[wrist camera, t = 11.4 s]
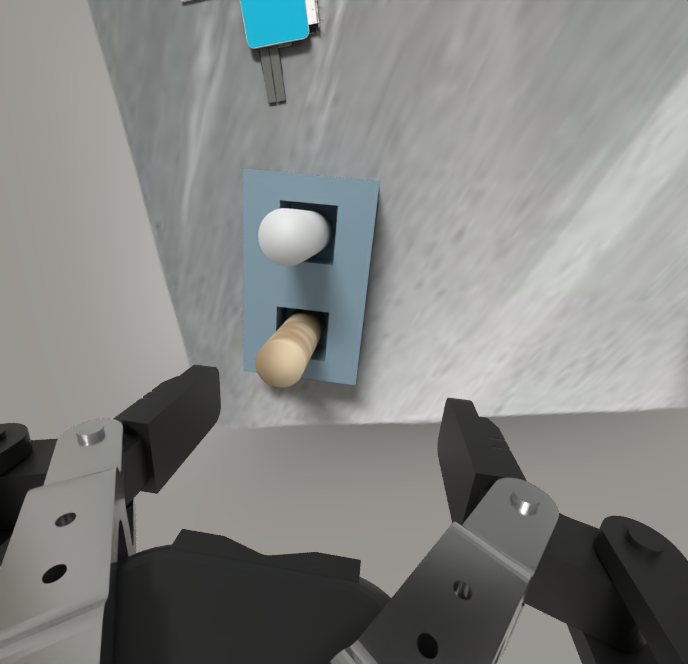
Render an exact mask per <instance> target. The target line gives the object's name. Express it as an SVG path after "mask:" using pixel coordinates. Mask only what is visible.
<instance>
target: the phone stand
mask: <svg viewBox="0 0 688 664" xmlns="http://www.w3.org/2000/svg"><path fill="white" fill-rule="evenodd" d="M186 1H191V0H181V2H186ZM240 3H241V9H242V15H243V21H244V27H245V33H246V38H247V43H248V45H249V46H250V47H251V48H253V49H256V48H259V52H260V58H261V65H262V71H263V74H264V79H265V85H266V91H267V98H268V103H272V102H276V96H275V90H274V83H273V77H272V73H273V76H274V82H275V89H276V95H277V102H278V101H284V100H285V93H284V87H283V80H282V73H281V71H282V67H281V60H280V54H279V48H282V47H287V46H292V44H291V42H292V41H297V40H302V39H305V38H307V37H308V35H309V34H310V33H315V32H316V29H309V25H310V24H315V23H318V27H319V26H320V22H322V21H323V20H322V21H320V22H319V18H318V13H319V12H318V9H320V8H321V7H322V6H321V7H320V8H318V9H317V0H240ZM319 30H320V29H319Z"/></svg>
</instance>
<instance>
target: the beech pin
mask: <svg viewBox="0 0 688 664" xmlns="http://www.w3.org/2000/svg"><path fill="white" fill-rule="evenodd" d="M325 327H326V318H325V315H324V314H323V312H321V311H312V310H304V309H296V310H295V311H294V313H293V314H292V315H291V316H290V317H289V318H288V319H287V320H286V321H285V322H284V324H283V325H282V326H281V327H280V328H279V329H278V330H277V331H276V332H275V333H274V334H273V336H272V337H271V338H270V339H269V340H268V341H267V342H266V343H265V344H264V345H263V347H262V348H261V349H260V350H259V351H258V353H257V355H256V358H255V367H256V370H257V373H258V375H259V376H260V377H261V379H262V380H264V381H265V382H266V383H268V384H269V385H271V386H274V387H280V388H284V387H289V386H292V385H294V384H295V383H296V382H298V380H299V379H300V378H301V376H302V374H303V372H304V370H305V368H306V366H307V364H308V362H309V360H310V358H311V356H312V354H313V352H314V350H315V348H316V346H317V344H318V342H319V340H320V338H321V336H322V334H323V332H324V329H325Z"/></svg>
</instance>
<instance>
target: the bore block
mask: <svg viewBox="0 0 688 664" xmlns="http://www.w3.org/2000/svg"><path fill="white" fill-rule="evenodd" d="M379 182H380V181H374V180H363V179H352V178H342V177H331V176H320V175H309V174H299V173H288V172H277V171H266V170H256V169H245V168H243V341H244V371H248V372H256V373H257V370H256V367H255V358H256V355H257V353H258V351H259V350H260V349H261V348H262V347H263V345H264V344H265V343H266V342H267V341H268V340H269V339H270V338H271V337H272V336H273V334H274V333H275V332H276V331H277V330H278V329H279V328H280V327H281V326H282V325H283V324H284V322H285V321H286V320H287V319H288V318H289V317H290V316H291V315H292V314H293V313H294V311H295V310H296V309H304V310H312V311H321V312H323V314H324V315H325V318H326V327H325V329H324V332H323V334H322V336H321V338H320V340H319V342H318V344H317V346H316V348H315V350H314V352H313V354H312V356H311V358H310V360H309V362H308V364H307V366H306V368H305V370H304V372H303V374H302V376H301V378H303V379H310V380H318V381H326V382H334V383H342V384H349V385H356V378H357V370H358V362H359V353H360V345H361V336H362V328H363V319H364V311H365V302H366V294H367V286H368V277H369V269H370V260H371V252H372V243H373V235H374V226H375V218H376V209H377V201H378V192H379Z"/></svg>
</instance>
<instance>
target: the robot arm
mask: <svg viewBox="0 0 688 664" xmlns="http://www.w3.org/2000/svg"><path fill="white" fill-rule="evenodd" d="M220 409H221V401H220V381H219V371H218V369H217V368H216V367H210V366H202V365H193V366H192V367H190V368H189V369H188V370H187V371H185V372H184V373H183V374H181V375H180V376H177V377H174V378H172V379H170V380H167V381H165V382H162V383H161V384H160V385H158V386H157V387H156V388H154V389H153V390H152V392H149V393H147V394H146V395H145V396H143V399H139V400H138V401H137V402H136V403H134V404H133V405H131V406H130V407H129V408H127V409H126V410H124V411H123V412H122V413H120V414H119V415H118V416H116V417H115V418H114V419H95V420H90V421H86V422H83V423H81V424H78V425H76V426H73V427H71V428H70V429H68V430H67V431H65V432H64V433H63V434H62V435H61V436H60V437H59V438H58V439H47V440H30V436H29V432H28V429H27V427H26V426H25V425H22V424H18V423H6V424H0V664H500V662H501V660H502V657H503V655H504V652H505V650H506V648H507V646H508V643H509V641H510V639H511V636H512V634H513V632H514V629H515V627H516V624H517V622H518V620H519V618H520V615H521V613H522V611H523V609H524V606H525V604H528V605H530V606H532V607H534V608H536V609H538V610H540V611H542V612H544V613H546V614H548V615H550V616H552V617H554V618H556V619H558V620H560V621H562V622H564V623H566V624H567V626H568V628H569V631H570V633H571V636H572V638H573V641H574V644H575V646H576V649H577V652H578V654H579V657H580V659H581V662H582V664H688V561H687V560H686V558H685V557H684V556H683V554H682V553H681V552H680V551H679V550H678V549H677V548H676V547H675V545H673V544H672V543H671V542H670V541H669V540H668V539H667V538H665V537H664V536H663V535H661V534H660V533H658V532H657V531H655V530H654V529H652V528H650V527H649V526H646V525H645V524H643V523H640V522H638V521H636V520H633V519H630V518H627V517H622V516H610V517H607V518H605V519H604V520H603V522H602V524H601V526H600V529H598V528H595V527H593V526H590V525H587V524H585V523H582V522H579V521H577V520H574V519H571V518H569V517H566V516H564V515H562V514H560V513H559V511H558V508H557V506H556V504H555V502H554V501H553V500H552V499H551V497H550V496H549V495H548V494H546V493H545V492H544V491H543V490H541V489H540V488H538V487H537V486H535V485H533V484H531V483H529V482H527V481H526V479H525V477H524V475H523V473H522V471H521V469H520V467H519V466H518V464H517V462H516V460H515V458H514V456H513V454H512V452H511V451H510V450H509V447H508V445H507V443H506V441H505V439H504V437H503V435H502V433H501V431H500V429H499V428H498V427H497V426H496V425H495V424H494V423H493V422H491V421H490V420H489V419H488V418H486V417H479V416H478V413H477V411H476V409H475V407H474V405H473V403H472V401H470V400H463V399H455V398H447V400H446V403H445V408H444V413H443V417H442V422H441V427H440V432H439V437H438V457H439V462H440V467H441V472H442V477H443V481H444V486H445V491H446V495H447V500H448V505H449V509H450V514H451V519H452V524H451V525H450V527H449V528H448V529H447V530H446V532H445V533H444V534H443V535H442V536H441V538H440V539H439V540H438V541H437V543H436V544H435V545H434V546H433V547H432V549H431V550H430V551H429V552H428V554H427V555H426V556H425V557H424V559H423V560H422V561H421V562H420V563H419V565H418V566H417V567H416V568H415V570H414V571H413V572H412V573H411V575H410V576H409V577H408V578H407V579H406V581H405V582H404V583H403V585H402V586H401V587H400V588H399V589H398V591H397V592H396V593H395V595H394V596H393V597H392V598H390V597H389V596H388V595H387V594H386V593H385V592H383V591H382V590H381V589H380V588H379V587H377V586H375V585H374V584H372V583H371V582H369V581H367V580H365V579H363V578H361V577H359V575H360V563H361V560H358V559H352V558H346V557H341V556H335V555H329V554H323V553H318V552H309V553H298V554H284V555H269V556H268V555H263V554H260V553H258V552H256V551H254V550H252V549H250V548H247V547H246V546H243V545H241V544H239V543H237V542H235V541H233V540H231V539H229V538H227V537H225V536H220V535H214V534H209V533H203V532H197V531H191V530H186V529H182V530H181V532H180V533H179V535H178V536H177V538H176V539H175V541H174V543H173V544H172V545H165V546H160V547H155V548H151V549H148V550H144V551H142V552H139V553H136V504H135V499H134V497H135V496H136V495H137V494H138V493H139V492H140V491H144V492H150V493H156V494H157V493H158V492H159V491H160V490H161V489H162V487H163V486H164V485H165V484H166V483H167V481H168V480H169V479H170V478H171V477H172V475H173V474H174V473H175V472H176V471H177V469H178V468H179V467H180V466H181V464H182V463H183V462H184V461H185V460H186V458H187V457H188V456H189V455H190V453H191V452H192V451H193V450H194V449H195V448H196V446H197V445H198V444H199V443H200V442H201V440H202V439H203V438H204V437H205V436H206V434H207V433H208V432H209V431H210V430H211V428H212V427H213V426H214V425H215V423H216V422H217V420H218V418H219V414H220Z"/></svg>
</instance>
